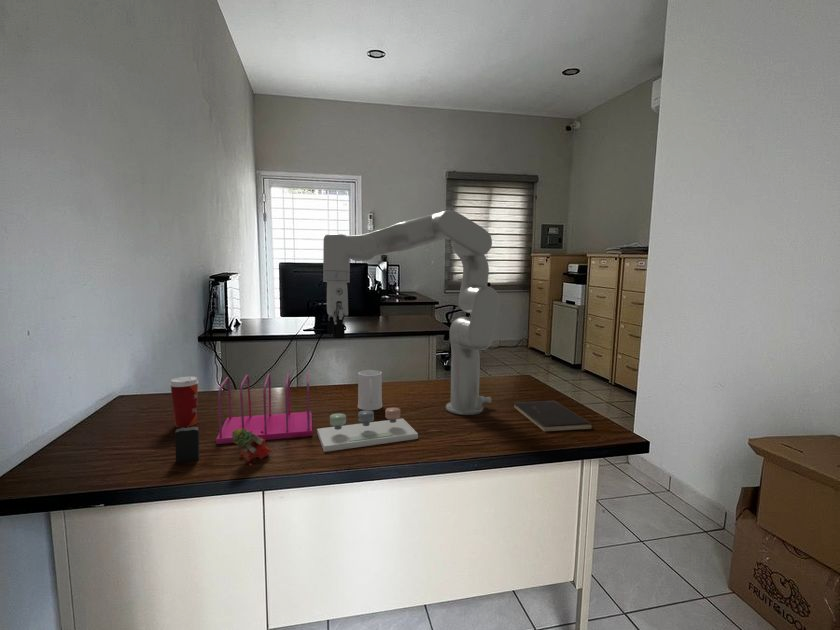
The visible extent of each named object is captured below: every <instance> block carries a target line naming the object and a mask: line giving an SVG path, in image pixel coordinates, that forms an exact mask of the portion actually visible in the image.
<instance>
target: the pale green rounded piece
mask: <svg viewBox="0 0 840 630" xmlns="http://www.w3.org/2000/svg"><path fill="white" fill-rule="evenodd" d="M329 425H330V426H332V427H334V429H336V430H339V429H342V426H344V425H347V415H346V414H345V413H332V414H330V415H329Z"/></svg>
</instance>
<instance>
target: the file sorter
mask: <svg viewBox="0 0 840 630" xmlns="http://www.w3.org/2000/svg"><path fill="white" fill-rule="evenodd" d="M286 375H287V376H286V378H285V379H286V380H285V381H286V382H285V413H275V414H272V393H271V392H272V388H271V387H272V383H271V379H272V378H271V373H267V376H266V378H265V381H264V384H263V392H262V393H263V414H259V415H257V414H256V415H252V402H251V401H252V400H251V385H250V383H251V381H250V375H249V374H245V376H244V378H243V380H242V381H241V383H240V389H239V395H240V396H239V397H240V398H239V399H240V414H241V415H240V416H232V401H231V400H232V399H231V394H232V393H231V380H230V377H229V376H226V378H225V379H224V380H223V381H222V383H221V384H220V386H219V387H218V396H217V400H218V401H217V403H218V407H217V408H218V429H219V430H218V431H219V432H218V435H217V437H216V440H215V441H216V443H215V444H216V445H223V444H232V443H233V444H235V443H234V441H233V440H234V439H233V437H232V432H233V431H234V430H236V429H246V430H248V431H249V432H251V431H252V433H253V434H255V435H256V436H258V437H259V438H260V437H263V439H265V441H268V440H270V441H271V440H281V439H292V438H303V437H312V436H313V421H312V418H313V417H312V415H313V414H312V411H310V372H309V371H307V372H306V411H301V412H291V381H290V380H291V379H290V377H291V376H290V372H287V374H286ZM246 381H247V393H248V397H247V398H248V413H249V415H245V416H244V403H243V402H244V400H243V396H244V395H243V388H244V385H245V382H246ZM226 383H227V389H228V390H227V392H228V395H227V396H228V414H229V417H227V418H226V419H225V421H224V424H223V425H222V403H221V401H222V400H221V397H222V396H221V394H222V389H223V387H224V386H225V384H226ZM267 384H268V414H267ZM261 431H263V432H264V433H261Z"/></svg>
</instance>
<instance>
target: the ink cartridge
mask: <svg viewBox="0 0 840 630" xmlns="http://www.w3.org/2000/svg"><path fill="white" fill-rule="evenodd" d="M174 433H175V435H174V437H175V441H174V442H175V463H177V464H181V463H182V464H183V463H189V462H196V461H199V458H200V429H199V427H198V426H191V427H187V428H177V429H175V432H174Z"/></svg>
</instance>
